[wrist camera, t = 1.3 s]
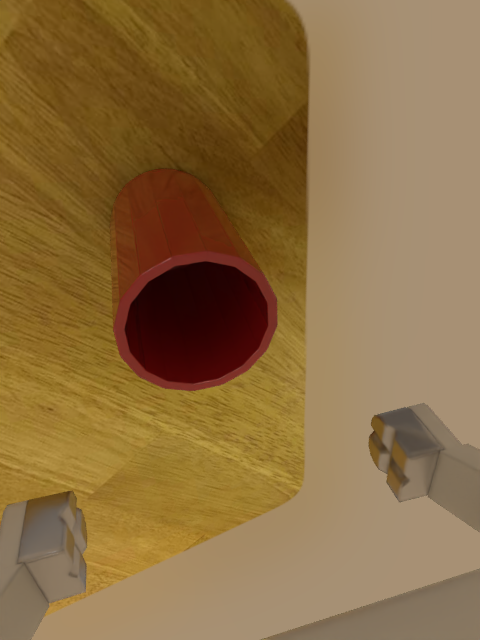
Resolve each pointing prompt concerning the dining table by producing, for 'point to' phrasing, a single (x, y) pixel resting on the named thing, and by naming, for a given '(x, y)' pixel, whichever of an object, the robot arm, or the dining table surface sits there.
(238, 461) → the dining table surface
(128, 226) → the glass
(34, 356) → the dining table surface
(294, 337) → the dining table surface
